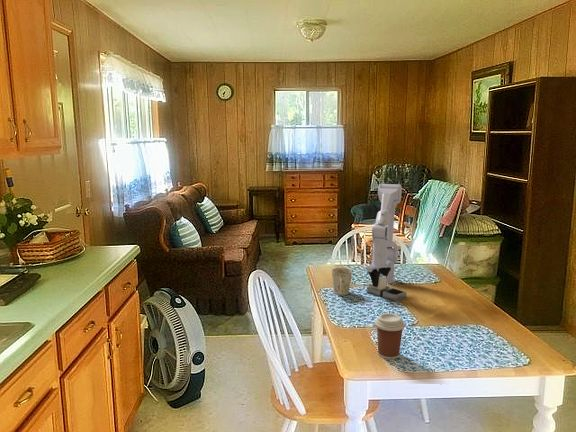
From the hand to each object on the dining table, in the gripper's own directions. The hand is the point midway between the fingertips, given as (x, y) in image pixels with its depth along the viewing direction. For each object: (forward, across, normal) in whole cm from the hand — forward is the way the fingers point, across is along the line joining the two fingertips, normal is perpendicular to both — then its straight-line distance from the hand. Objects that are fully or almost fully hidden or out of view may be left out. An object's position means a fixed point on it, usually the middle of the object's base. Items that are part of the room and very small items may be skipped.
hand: (378, 285), depth 203 cm
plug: (+3, 0, 0) cm, 3 cm away
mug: (+4, -13, +9) cm, 16 cm away
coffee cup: (+4, -43, -36) cm, 56 cm away
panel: (+4, 0, -4) cm, 5 cm away
